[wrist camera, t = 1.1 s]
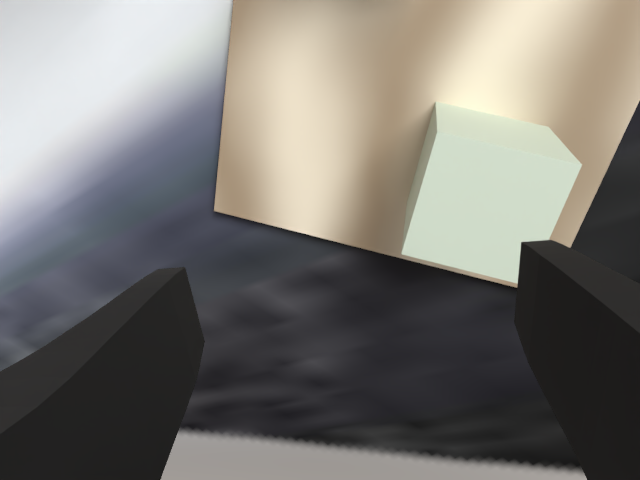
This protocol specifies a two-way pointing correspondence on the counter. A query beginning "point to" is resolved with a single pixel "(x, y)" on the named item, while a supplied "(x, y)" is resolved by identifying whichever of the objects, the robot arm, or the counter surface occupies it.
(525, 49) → the build board
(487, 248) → the sage block
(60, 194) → the counter surface
